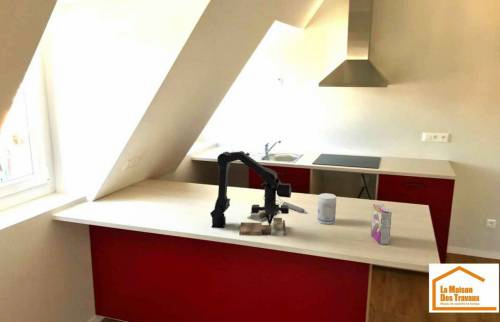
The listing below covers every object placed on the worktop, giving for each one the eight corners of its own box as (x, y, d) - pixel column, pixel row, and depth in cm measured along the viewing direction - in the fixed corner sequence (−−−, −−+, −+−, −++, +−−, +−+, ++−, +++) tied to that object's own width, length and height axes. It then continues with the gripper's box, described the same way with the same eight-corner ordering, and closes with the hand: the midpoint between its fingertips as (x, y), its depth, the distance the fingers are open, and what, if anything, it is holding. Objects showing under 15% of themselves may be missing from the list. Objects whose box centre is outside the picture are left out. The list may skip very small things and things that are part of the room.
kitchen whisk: (303, 215, 213) (303, 205, 212) (260, 202, 237) (260, 192, 235) (309, 212, 217) (309, 202, 216) (267, 200, 241) (267, 190, 240)
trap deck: (239, 235, 186) (239, 228, 185) (241, 225, 198) (240, 219, 197) (285, 235, 185) (285, 229, 184) (284, 226, 196) (284, 220, 196)
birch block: (273, 228, 188) (273, 220, 187) (273, 225, 192) (273, 217, 192) (282, 229, 188) (282, 220, 187) (281, 225, 192) (282, 217, 191)
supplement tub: (316, 218, 208) (317, 193, 205) (333, 218, 208) (334, 193, 205) (319, 224, 198) (320, 198, 195) (337, 224, 198) (338, 198, 195)
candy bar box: (369, 235, 185) (372, 203, 181) (379, 235, 185) (382, 203, 182) (379, 245, 174) (381, 211, 171) (389, 244, 174) (392, 211, 171)
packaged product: (262, 214, 202) (247, 211, 207) (262, 223, 203) (247, 219, 208) (279, 205, 216) (264, 202, 222) (278, 213, 217) (264, 210, 223)
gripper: (250, 200, 180) (250, 230, 183) (289, 201, 179) (288, 231, 182) (251, 193, 190) (251, 222, 194) (288, 194, 190) (287, 223, 193)
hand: (269, 225), depth 190 cm, fingers closed
